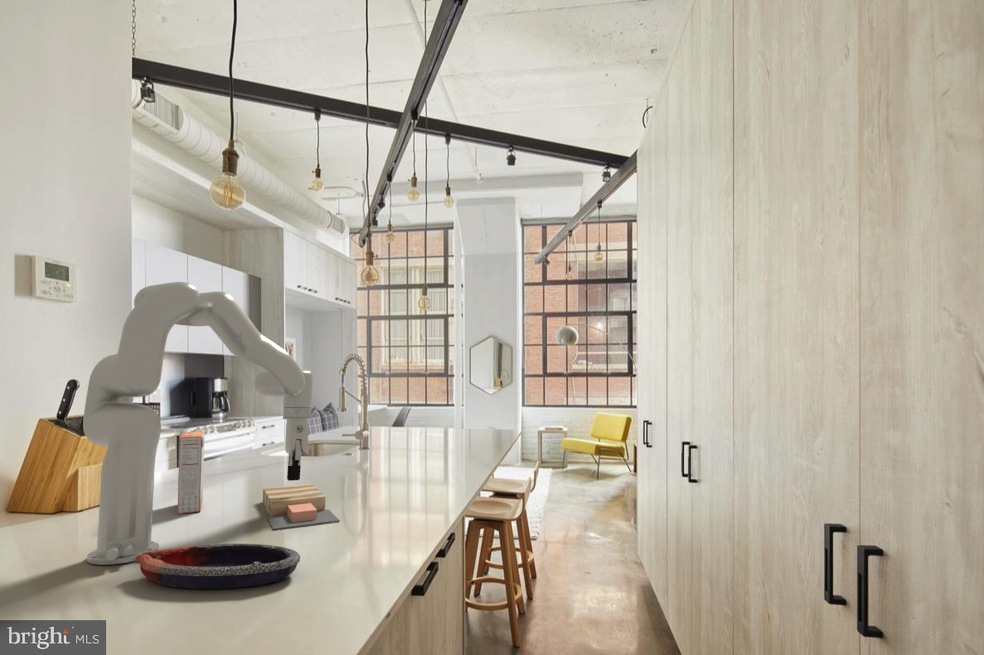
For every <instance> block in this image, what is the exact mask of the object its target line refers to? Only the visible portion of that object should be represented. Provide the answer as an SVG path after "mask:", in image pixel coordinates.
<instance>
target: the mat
mask: <svg viewBox="0 0 984 655" xmlns="http://www.w3.org/2000/svg"><path fill="white" fill-rule="evenodd" d="M266 519H267V521H268V523H269V524H270V525H269V526H271V528H273V529H272V530H273V531H278V529H280V530H286V529H287V528H288V529H294V528H295V527H296V528H302V526H303V527H310V526H309V525H311V526H318V525H317V524H319V525H325V524H324V523H327V524H333V523H332V522H335V523H340V522H341V520H340V519H339V518H338V517H337V516H336V515H335V514H334V513H333V512H332V511H331V510H330V509H325V510H319V511H317V519H314V520H306V521H298V522H292V521H291V519H290V518H289V516H288V515H287V514H284V515H275V516H270V515H269V516H266ZM339 521H340V522H339Z"/></svg>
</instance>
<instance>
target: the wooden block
mask: <svg viewBox="0 0 984 655" xmlns="http://www.w3.org/2000/svg"><path fill="white" fill-rule="evenodd" d="M262 503H263V505H264V507H265V510H266V511H267V513H268V515H269V516H275V515H284V514H287V505H293V504H302V503H311V504H312V505H313V506H314V507H315V508H316V509H317V511H319V510H326V495H325V494H324V493H322V492H321V491H320V490H319V489H318V488H317V487H316V486H315V485H313V484H312V483H305V484H295V485H285V486H284V485H282V486H273V487H262Z"/></svg>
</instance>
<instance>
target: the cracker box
mask: <svg viewBox="0 0 984 655" xmlns="http://www.w3.org/2000/svg"><path fill="white" fill-rule="evenodd" d="M204 467H205V431H204V430H203V431H185V432H183V433H182V434H181V436H180V437H179V450H178V473H177V475H178V477H177V478H178V479H177V480H178V481H177V485H178V486H177V515H184V513H186V514H191V513H200V512H201V510H202V504H203V501H204V500H203V498H204V497H203V495H204V470H205V468H204Z"/></svg>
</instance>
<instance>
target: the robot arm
mask: <svg viewBox="0 0 984 655" xmlns="http://www.w3.org/2000/svg"><path fill="white" fill-rule="evenodd" d="M133 306H134V307H133V308H132V310H131V311H130V312H129V314H128V315H127V318H126V319H125V322H124V324H123V327H122V331H121V334H120V335H121V336H120V340H119V345H118V350H117V353H115V354H111V355H108V356H106V357H103V358H102V359H101V360H99V361H98V362H97V363H96V365H95V366H94V367H93V369H92V371H91V373H90V375H89V380H88V386H87V392H86V397H85V398H86V399H85V403H84V404H85V405H84V409H83V410H84V411H83V417H82V418H83V419H82V420H83V421H82V428H83V433H84V435H85V437H86V439H88V440H89V442H91V443H92V444H94V445H96V446H101V447H107V450H106V451H105V455H104V458H103V460H102V464H101V470H100V487H99V490H100V492H99V510H98V525H97V528H98V529H97V540H96V541H97V542H96V543H97V544H96V548H95V549H94V550H91V551H90V552H89V553H87V555H86V561H87V563H89V564H92V565H97V566H111V565H121V564H126V563H133V562H135V558H136V556H138V555H141V554H142V553H145V552H152V551H157V550H160V544H159V543H158V542H155V541H152V530H153V529H152V526H153V508H154V488H155V465H156V464H155V463H156V456H157V450H158V444H159V441H160V437H161V433H162V421H161V418H160V416H159V414H158V413H157V412H156V410H154V409H153V408H152V407H150V406H147V405H146V404H145V405H144V404H140V403H134V398H143V397H146V396H150V395H152V394H153V393H155V392H156V391H157V389H158V388H159V386H160V384H161V379H162V372H163V364H164V356H165V350H166V344H167V339H168V335H169V333H170V331H171V329H172V328H173V327H174V326H175V325H178V326H188V327H210V328H211V330H212V331H213V333H215V335H216V336H217V337H218V338H219V339H220V340H221V341H222V343H223V344H224V346H225V347H226V348H227V349H228V351H229V352H230V353H231V354H233V355H234V356H235V357H237V358H240V359H242V360H245V361H246V362H249V363H252V364H255V365H258V366H260V367H261V368H263V370H261V371H260V372H259V373H257V374H256V376H255V379H254V387H255V389H256V391H258V392H259V393H260V394H262V395H264V396H266V397H267V396H268V397H269V396H270V397H283V410H282V420H286V425H285V426H286V427H285V442H284V443H285V444H284V446H285V447H284V448H285V449H284V450H285V453H287V454H288V457H287V458H288V459H287V460H288V462H287V464H288V465H287V472H286V474H287V475H286V480H288V481H289V482H290V481H291V482H292V481H300V479H301V460H302V455H305V456H307V455H308V454H309V450H308V449H309V420H311V418H312V401H313V400H312V399H313V384H314V383H313V382H314V380H313V379H314V375H313V373H312V371H311V370H302V369H301V367H300V366H299V364H298V363H297V362H296V360H295V359H294V358H293V357H292V355H291V354H290V353H288V351H286V350H285V349H283V348H282V347H281V346H279V345H277V344H276V343H275V342H273V341H272V340H271V339H269V338H267V337H266V336H265V335H263V334H262V333H261V332H260V331H259V330H258V329H257V327H256V326H255V324H254V323H253V321H252V320H251V319H250V317H249V316H248V315H247V314H246V313H245V311H244V310H243V308H242V307H241V306H240V305H239V304H238V302H237V301H236V299H235V298H234V297H233V296H232V295H230V294H229V293H228V292H224V291H207V292H201V293H200V292H199V290H198V289H197V287H195V286H194V285H192V284H191V283H189V282H183V281H172V282H166V283H161V284H160V283H159V284H153V285H148V286H144V287H143V288H142V289H139V291H137V293H136V295H135V296H134V299H133Z"/></svg>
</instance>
